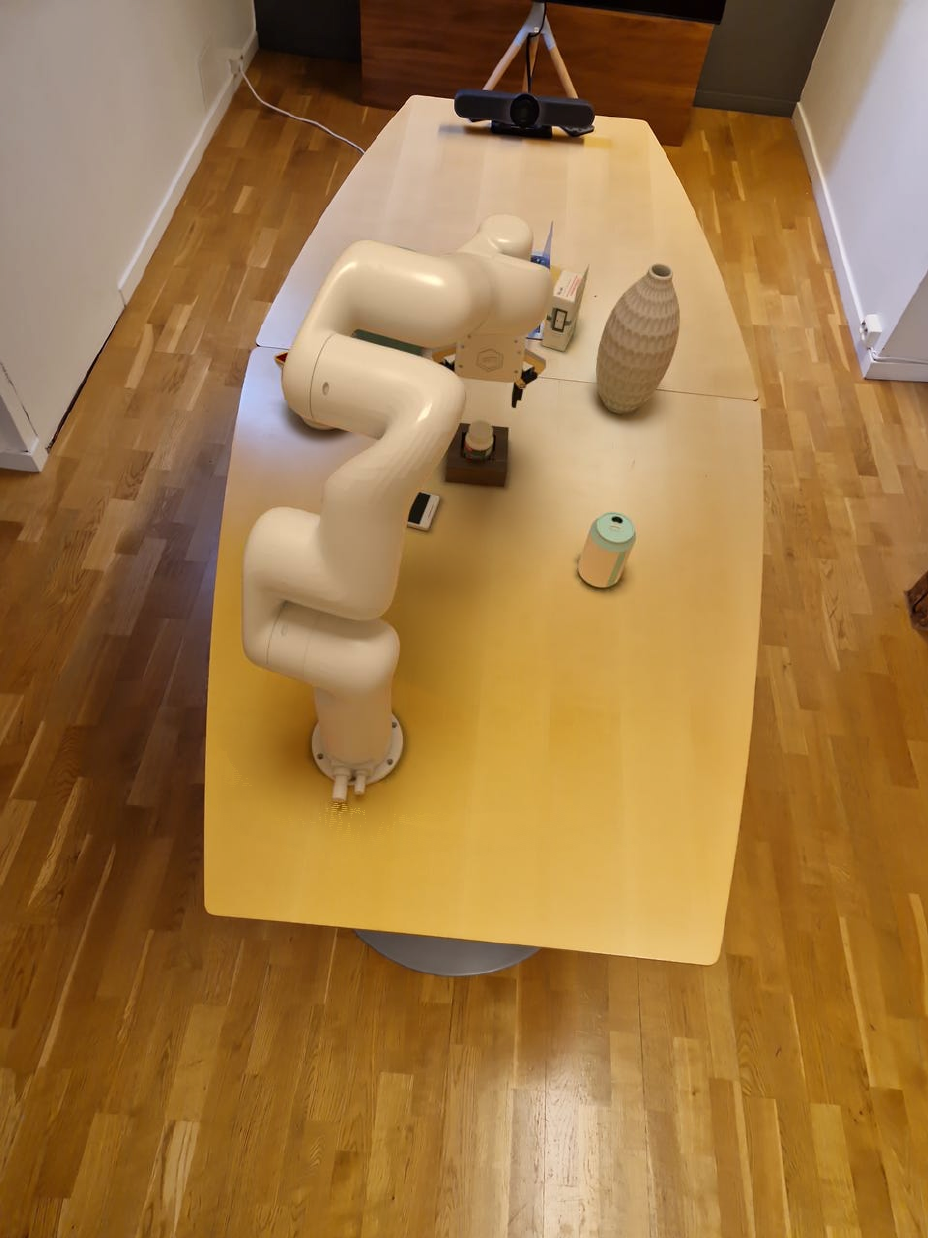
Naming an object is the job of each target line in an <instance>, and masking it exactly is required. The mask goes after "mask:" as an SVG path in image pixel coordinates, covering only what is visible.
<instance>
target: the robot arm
mask: <svg viewBox="0 0 928 1238" xmlns="http://www.w3.org/2000/svg"><path fill="white" fill-rule="evenodd" d="M392 245H393V244H392ZM392 245H391V244H388V243H384V242H381V241H378V240H373V239H368V238H367V239H365V238H363V239H359V240H356V241H354V242H352V243H351V244H349V245H348V246H347V247H346V248H345V249H344V250H343V252H341V254H340V255H339V256H338V258H337V259H336V260H335V262H334V263H333V264H332V266H331V267H330V269H329V271H328V272H327V274H326V276H325V277H324V279H323V281H322V283H321V285H320V286H319V289H318V290H317V293H316V295H315V296H314V299H313V301H312V303H311V305H310V306H309V309H308V310H307V313H306V315H305V316H304V319H303V320H302V323H301V324H300V327H299V329H298V331H297V332H296V334H295V336H294V338H293V341H292V343H291V345H290V347H289V349H288V350H289V352H288V355H287V358H286V361H285V364H284V369H283V375H282V385H281V390H282V394H283V398H284V400H285V402H286V404H287V405H288V407H289V408H290V409H291V410H292V411H294V412H295V414H297V415H298V416H300V417H301V416H302V417H304V418H307V419H309V420H312V421H315V422H319V423H322V424H326V425H329V426H332V427H336V428H335V429H340V430H343V431H346V432H350V433H353V434H357V435H358V436H359V435H360V436H363V437H367V438H371V439H374V440H377V441H376V442H374V444H372V445H371V446H369V447H368V448H366V449H365V450H363V451H362V452H359V453H358V454H356V455H355V456H352V458H350V459H349V460H346V462H345V463H343V464H342V465H341V466H340V467H338V468H337V469H336V470H335V471H334V472H333V473H332V474H331V475H330V476H329V477H328V478H327V480H326V481H325V483H324V486H323V487H322V493H321V503H320V504H321V505H320V513H319V514H317V513H314V512H312V511H311V512H310V511H308V510H304V509H300V508H296V507H292V506H291V507H290V506H276V507H272V508H270V509H268V510H266V511H264V512H263V513H262V514H261V515H260V516H259V518H257V519H256V521H255V522H254V524H253V526H252V527H251V530H250V533H249V534H248V537H247V540H246V542H245V543H246V544H245V546H244V551H243V555H242V557H243V558H242V564H241V642H242V643H241V644H242V649H243V653H244V655H245V657H246V658H247V660H248V661H249V662H250V663H252V664H253V665H255V666H257V667H258V668H261V669H263V670H266V671H269V672H271V673H275V674H277V675H281V676H284V677H287V678H289V679H292V680H295V681H299V682H302V683H304V684H307V685H308V686H312V688H313V690H312V692H313V693H312V694H313V696H312V697H313V702H314V707H315V711H316V717H317V723H316V725H315V727H314V729H313V732H312V736H311V750H312V755H313V758H314V761H315V763H316V765H317V766H318V767H317V768H319V770H320V771H321V772H322V773H323V774H324V775H325V776H326V777H327V778H329V779H330V780H332V781H333V782H334V784H333V787H332V794H331V801H333V802H335V803H346V802H347V797H348V790H349V788H348V786H349V787H354V788H353V794H355V795H357V796H358V795H359V796H360V795H364V794H365V791H366V786H369V785H373V784H375V783H377V782H379V781H380V780H383V779H384V778H386V776H388V775H389V774H390V773H391V772H392V771H393V770H394V769H395V767H396V766H397V765H398V763H399V760H400V759H401V756H402V753H403V747H404V735H403V730H402V727H401V724H400V723H399V720H398V719H397V717H396V716H395V715H394V713H393V712H392V711H393V709H392V705H393V704H392V695H393V694H392V693H393V692H392V686H393V679H394V676H395V673H396V669H397V667H398V663H399V660H400V655H401V641H400V637H399V634H398V632H397V630H396V629H395V628H394V627H393V625H391V624H390V623H389V622H387V621H386V620H384V619H382V618H380V617H382V616H383V615H384V614H385V613H386V612H387V611H388V610H389V609H390V607H391V604H392V603H393V601H394V597H395V594H396V591H397V587H398V582H399V576H400V570H401V564H402V560H403V559H402V558H403V553H404V545H405V540H406V539H405V538H406V532H407V527H408V526H407V521H408V516H409V511H410V509H411V506H412V504H413V502H414V500H415V498H416V496H417V495H418V493H419V492H420V491H422V489H423V488H424V486H425V485H426V483H427V482H428V480H429V479H430V477H431V476H432V475H433V473H434V472H435V471H436V468H437V467H438V465H440V462H441V461H442V459H443V457H444V456H445V454H446V452H448V447H449V445H450V443H451V441H452V439H453V437H454V435H455V433H456V431H457V429H458V427H459V424H460V423H462V419H463V415H464V412H465V409H466V402H467V391H466V386H465V384H464V382H463V381H462V380H463V379H467V380H476V381H485V382H496V383H507V384H508V383H509V384H510V383H511V384H512V383H513V386H512V390H511V408H512V409H517V406H518V405H517V404H518V401H520V402H521V401H522V398H523V392H524V389H526V388H527V385H529V384H530V383H532V382H535V381H536V380H537V379H538V377H539V375H541V374H542V373H543V372H544V371H545V370H546V368H547V360H546V359H545V358H543V357H541V356H540V355H538V354H536V353H534V352H532V351H531V350H529V349H527V348H526V343H527V335H530V334H531V333H533V332H534V331H535V330H536V329H537V328H538V327H539V326H540V325H542V323H543V322H544V320H545V319H546V318H547V313H548V311H549V308H550V306H551V303H552V299H553V293H554V287H555V281H554V276H553V273H552V271H551V270H550V269H549V268H548V267H547V266H545V265H543V264H540V263H537V262H532V261H531V259H532V253H533V247H534V232H533V229H532V227H531V225H530V224H529V223H528V222H527V220H524V219H523V218H522V217H520V216H517V215H515V214H512V213H495V214H492V215H489V216H487V217H485V218H484V219H483V220H482V221H481V222H480V223H479V225H478V227H477V230H476V233H475V234H474V235H473V236H471V238H469V239H468V240H466V242H464V243H463V244H462V245H460V246H459V247H458V248H457V249H456V250H455V251H454V252H449V253H444V254H439V255H431V254H426V253H423V252H422V253H421V252H418V251H416V252H414V251H415V250H414V251H410V250H407V249H403V248H399V247H396V246H397V245H393V246H392ZM356 329H360V330H364V331H368V332H371V333H375V334H379V335H382V336H386V337H389V338H393V339H396V340H400V341H403V342H407V343H410V344H414V345H418V346H421V348H427V349H429V348H430V349H431V355H430V356H431V359H429V358H426V357H423V356H420V355H418V356H417V355H414V354H410V353H407V352H403V351H400V350H396V349H393V348H389V347H385V346H381V345H377V344H373V343H370V342H366V341H363V340H359V339H356V337H352V336H353V334H354V333H355V330H356ZM453 355H454V360H452V361H451V362H449V361H448V360H447V359H446V357H450V356H453ZM524 363H526V364H528V365H530V366H531V367H530V368H528V369H526V370H524ZM461 378H463V379H461ZM320 758H321V759H320Z"/></svg>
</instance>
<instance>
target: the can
mask: <svg viewBox="0 0 928 1238" xmlns="http://www.w3.org/2000/svg"><path fill="white" fill-rule="evenodd" d="M635 529H636V528H635V524H634V523H633V521H632V519H630V517H628V515H625V514H624V513H622V512H618V511H608V512H604V513H603V514H601V515H600V516H598V517H597V518H596V519H595V520H593V522H592V523H591V525H590V528H589V530H588V534H587V537H586V539H585V543H584V546H583V547H582V551H581V554H580V558H579V561H578V563H577V571H578V574H579V576H580V577H581V578H582V580H583V581H585V582H586V583H587V584H589V585H591V586H593V587H597V588H608V587H612V586H613V585H615V584H617V583H618V582H619V580H620V579H621V576H622V574H623V571H624V569H625V567H626V564H627V563H628V560H629V557H630V555H631V553H632V550H633V548H634V545H635V543H636V540H637V533H636V530H635Z"/></svg>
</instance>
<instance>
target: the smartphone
mask: <svg viewBox="0 0 928 1238" xmlns="http://www.w3.org/2000/svg"><path fill="white" fill-rule="evenodd" d="M440 500H441V499H440V496H439V495H437V494H433V493H430V492H426V491H422V490H420V492H419V493H418V495H417V496H416V498H415V500H414V502H413V504H412V506H411V509H410V511H409V516H408V521H407V527H410V528H414V529H418V530H422V531H425V532H426V531H429V529H430V528H431V527H430V526H431V524H432V522H433V519H434V516H435V514H436V512H437V508H438V505H439V503H440Z"/></svg>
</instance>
